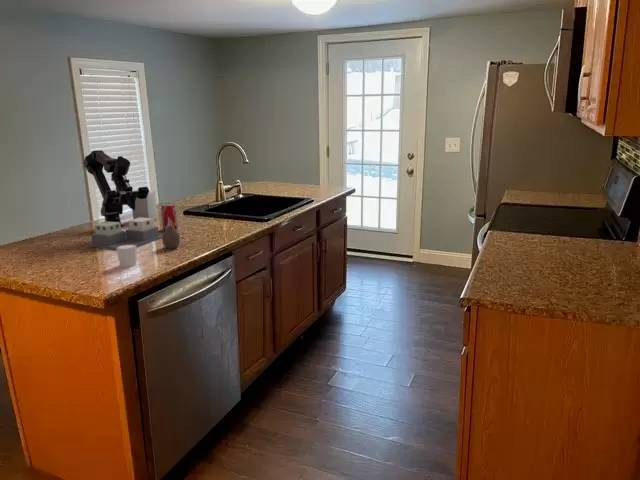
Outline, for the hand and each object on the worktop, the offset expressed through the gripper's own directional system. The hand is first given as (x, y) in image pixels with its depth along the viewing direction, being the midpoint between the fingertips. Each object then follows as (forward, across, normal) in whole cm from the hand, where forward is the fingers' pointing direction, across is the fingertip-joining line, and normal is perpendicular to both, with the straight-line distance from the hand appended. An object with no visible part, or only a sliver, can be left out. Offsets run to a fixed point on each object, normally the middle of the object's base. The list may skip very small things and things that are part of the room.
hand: (134, 209), depth 216 cm
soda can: (+7, -18, -11) cm, 22 cm away
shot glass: (+36, +20, +17) cm, 44 cm away
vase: (+28, -3, +10) cm, 30 cm away
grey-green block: (+9, +13, -4) cm, 17 cm away
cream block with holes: (+11, 0, -2) cm, 11 cm away
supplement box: (-12, -18, -30) cm, 37 cm away
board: (+12, +7, -6) cm, 15 cm away
